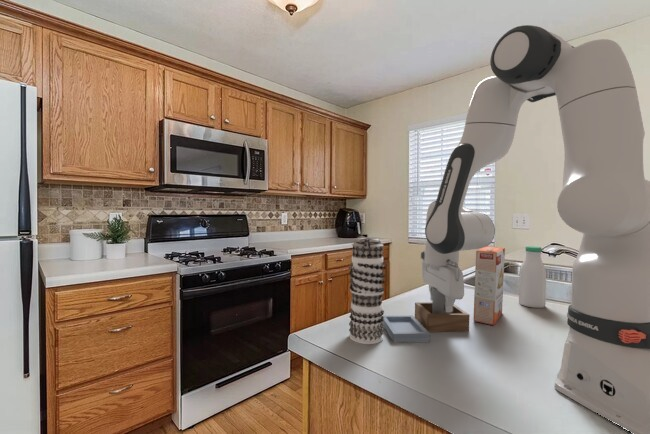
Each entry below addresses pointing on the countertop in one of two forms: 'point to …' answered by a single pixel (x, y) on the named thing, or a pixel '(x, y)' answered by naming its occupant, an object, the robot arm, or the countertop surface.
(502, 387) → the countertop surface
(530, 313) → the countertop surface
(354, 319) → the decorative candle
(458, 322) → the box
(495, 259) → the cracker box
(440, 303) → the grey cylinder
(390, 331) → the tray
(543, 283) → the milk bottle
